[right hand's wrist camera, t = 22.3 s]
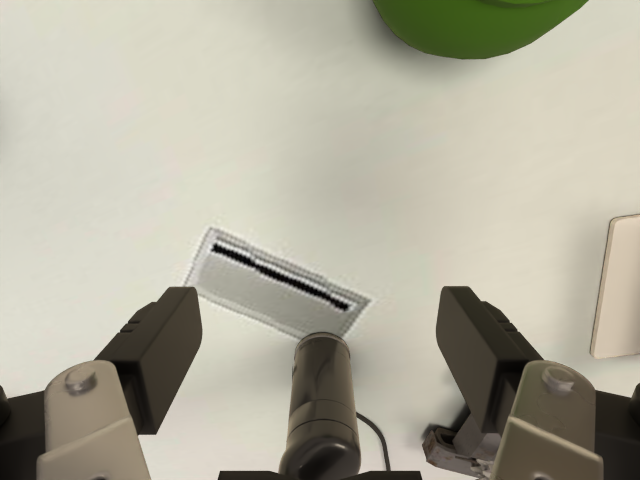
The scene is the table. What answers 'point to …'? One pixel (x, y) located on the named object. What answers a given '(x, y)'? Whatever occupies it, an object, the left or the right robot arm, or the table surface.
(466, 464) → the toy
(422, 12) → the vase
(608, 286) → the tablet stand
